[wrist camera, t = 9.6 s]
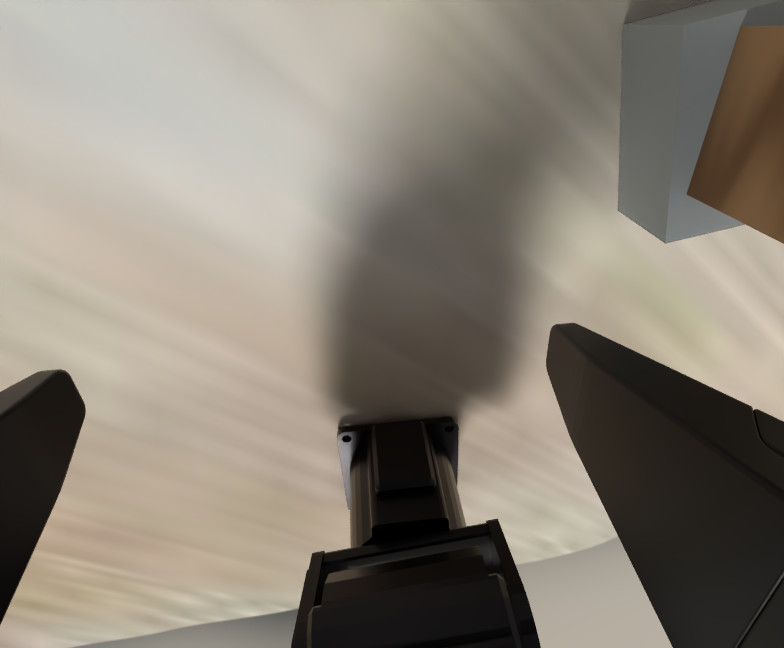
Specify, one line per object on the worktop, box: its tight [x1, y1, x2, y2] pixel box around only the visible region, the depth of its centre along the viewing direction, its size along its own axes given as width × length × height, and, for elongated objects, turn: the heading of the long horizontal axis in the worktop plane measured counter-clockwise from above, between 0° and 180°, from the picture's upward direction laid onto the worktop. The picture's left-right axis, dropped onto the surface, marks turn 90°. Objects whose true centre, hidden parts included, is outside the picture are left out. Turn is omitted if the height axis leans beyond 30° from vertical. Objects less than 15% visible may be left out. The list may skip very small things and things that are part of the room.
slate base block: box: [618, 0, 784, 243], centre depth 18 cm, size 7×7×4 cm
